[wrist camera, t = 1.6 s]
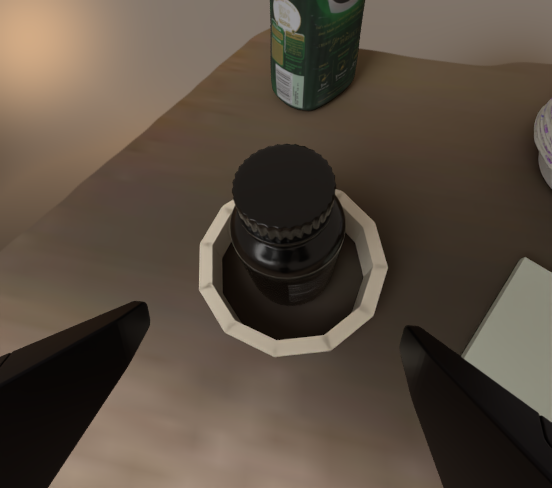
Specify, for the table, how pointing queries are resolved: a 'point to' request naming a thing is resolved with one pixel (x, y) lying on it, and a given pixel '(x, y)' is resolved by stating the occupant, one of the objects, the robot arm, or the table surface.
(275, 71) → the coffee jar
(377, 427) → the table surface
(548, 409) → the mat
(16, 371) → the robot arm
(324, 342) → the ring holder
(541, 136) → the paper bowls
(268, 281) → the supplement bottle
